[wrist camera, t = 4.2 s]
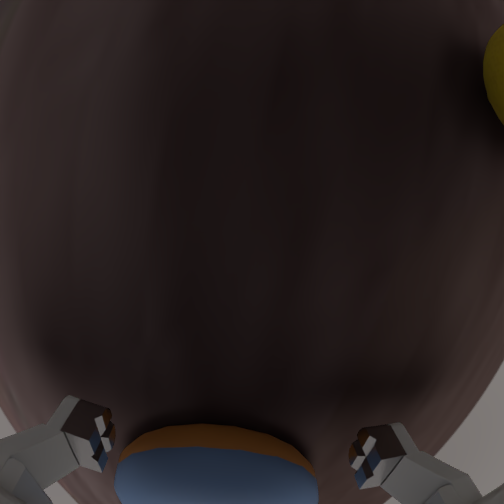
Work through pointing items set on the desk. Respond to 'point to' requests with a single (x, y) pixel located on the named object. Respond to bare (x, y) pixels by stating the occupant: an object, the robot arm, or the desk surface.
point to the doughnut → (213, 468)
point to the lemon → (495, 72)
